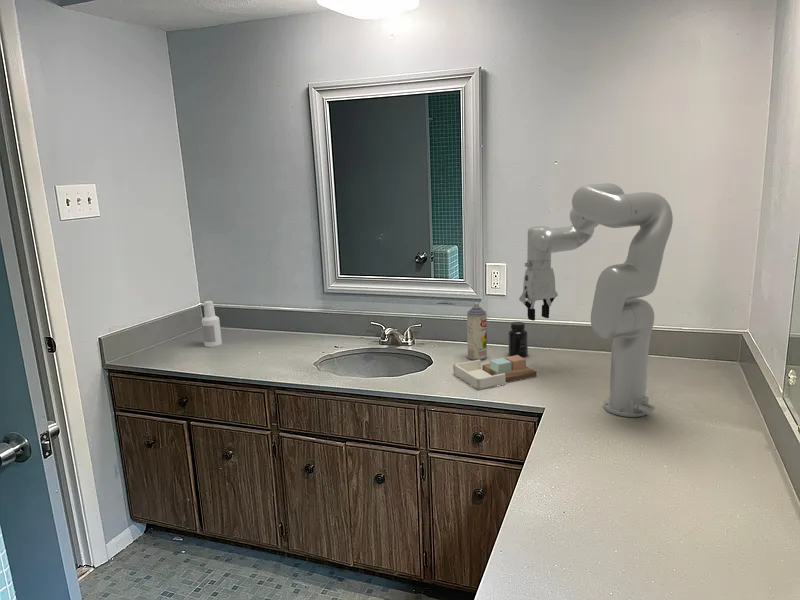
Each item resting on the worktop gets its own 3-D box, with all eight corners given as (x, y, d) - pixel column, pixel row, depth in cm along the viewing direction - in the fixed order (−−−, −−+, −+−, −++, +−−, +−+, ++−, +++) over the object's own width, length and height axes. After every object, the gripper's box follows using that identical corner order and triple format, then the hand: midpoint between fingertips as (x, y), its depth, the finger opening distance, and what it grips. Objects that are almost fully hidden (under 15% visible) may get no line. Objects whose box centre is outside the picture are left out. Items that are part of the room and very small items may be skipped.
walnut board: (536, 376, 200) (536, 371, 199) (505, 383, 195) (505, 377, 195) (512, 364, 212) (512, 359, 212) (482, 370, 208) (482, 364, 207)
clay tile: (525, 367, 203) (526, 359, 202) (513, 370, 201) (513, 361, 200) (517, 363, 208) (517, 355, 207) (504, 365, 206) (504, 357, 205)
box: (505, 384, 194) (505, 374, 193) (478, 390, 190) (477, 379, 190) (479, 369, 209) (479, 359, 208) (453, 374, 205) (453, 364, 204)
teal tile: (511, 370, 201) (511, 362, 200) (498, 373, 199) (498, 364, 198) (503, 366, 205) (503, 357, 205) (490, 368, 204) (490, 360, 203)
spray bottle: (204, 343, 251) (199, 300, 247) (221, 341, 253) (217, 299, 249) (204, 348, 245) (199, 304, 241) (222, 346, 247) (217, 302, 243)
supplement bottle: (526, 352, 224) (526, 320, 221) (528, 358, 218) (529, 325, 215) (507, 352, 225) (507, 320, 222) (509, 358, 218) (509, 326, 216)
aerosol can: (483, 361, 216) (483, 306, 212) (465, 359, 219) (464, 305, 214) (489, 355, 222) (488, 302, 218) (470, 353, 225) (470, 300, 220)
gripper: (523, 269, 193) (523, 324, 198) (567, 263, 200) (566, 317, 204) (510, 265, 200) (510, 319, 204) (553, 260, 207) (552, 312, 211)
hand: (538, 317), depth 204 cm, fingers open, 4 cm apart
